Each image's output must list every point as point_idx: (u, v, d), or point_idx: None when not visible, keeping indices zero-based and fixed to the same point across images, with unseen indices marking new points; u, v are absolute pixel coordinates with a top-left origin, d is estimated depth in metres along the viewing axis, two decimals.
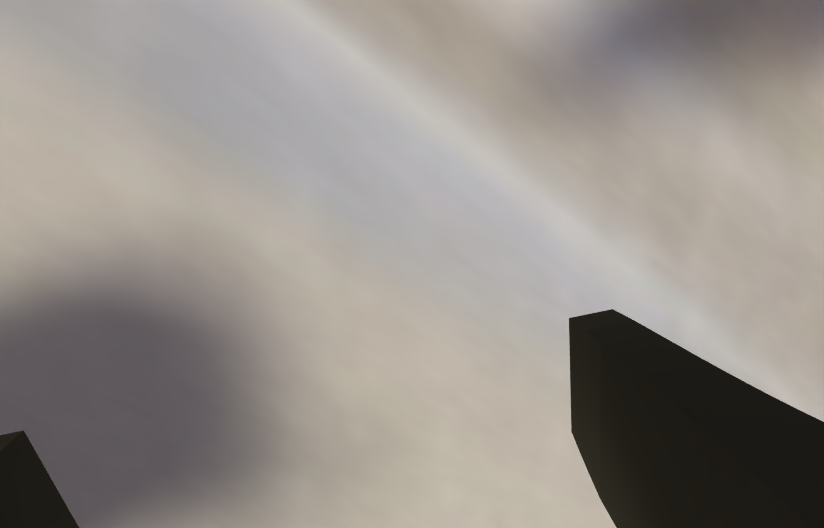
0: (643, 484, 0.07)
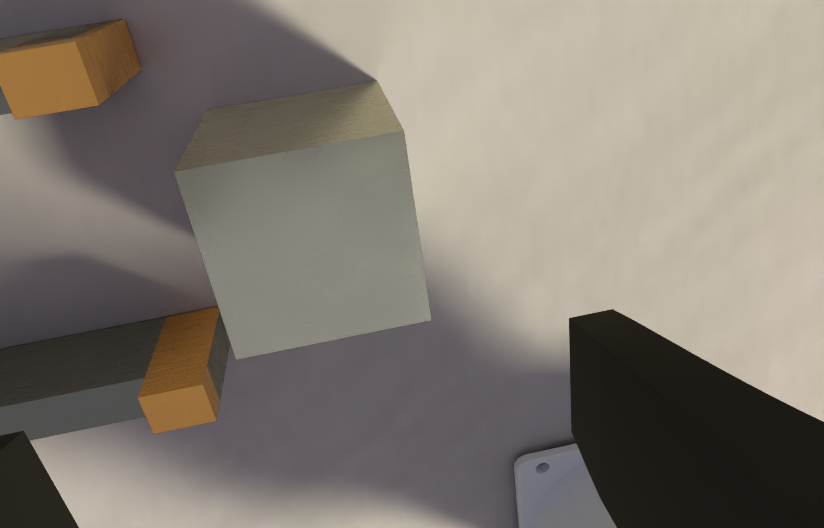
0: (643, 483, 0.07)
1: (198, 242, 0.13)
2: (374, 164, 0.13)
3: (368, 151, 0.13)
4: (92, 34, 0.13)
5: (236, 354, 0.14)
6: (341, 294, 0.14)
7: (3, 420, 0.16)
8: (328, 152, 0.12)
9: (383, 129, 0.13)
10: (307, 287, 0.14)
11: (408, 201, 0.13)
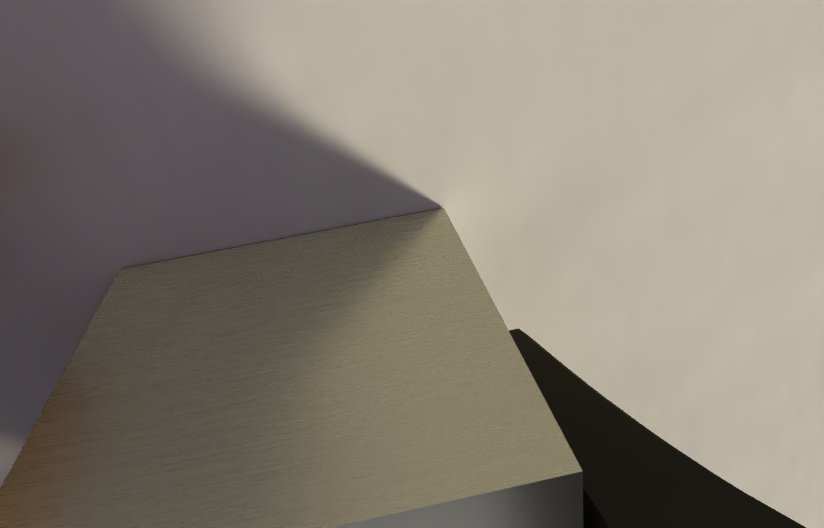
0: None
1: None
2: None
3: (483, 524, 0.05)
4: None
5: None
6: None
7: None
8: None
9: (518, 449, 0.05)
10: None
11: None
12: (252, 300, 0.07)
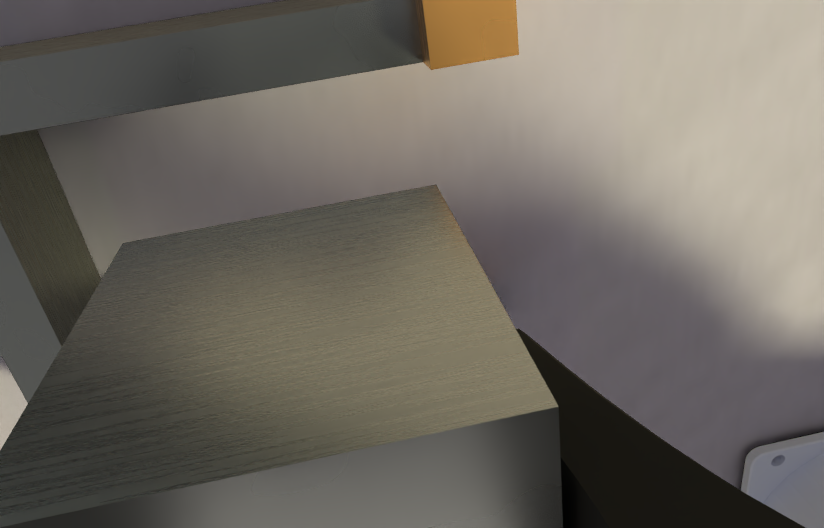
0: None
1: None
2: (477, 480, 0.05)
3: (464, 457, 0.05)
4: None
5: None
6: None
7: None
8: (362, 465, 0.05)
9: (499, 389, 0.05)
10: None
11: None
12: (251, 267, 0.08)
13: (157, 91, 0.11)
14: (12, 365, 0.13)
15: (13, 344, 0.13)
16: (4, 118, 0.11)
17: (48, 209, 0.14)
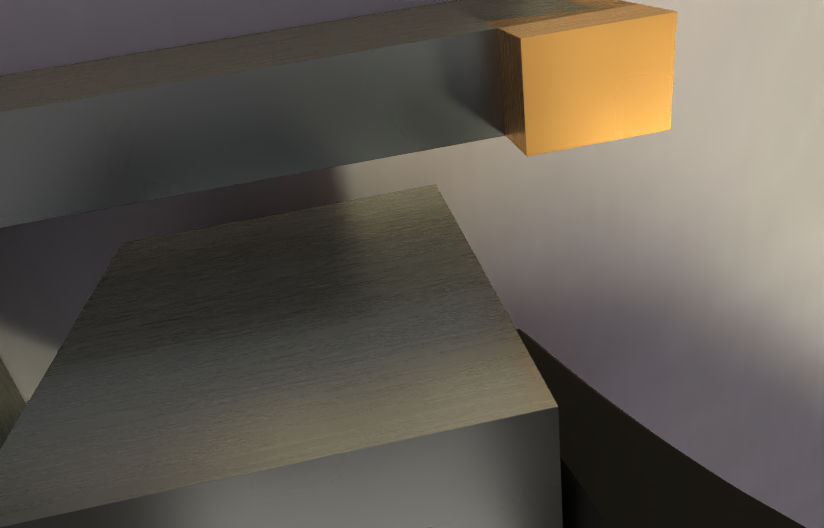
0: None
1: None
2: (476, 480, 0.05)
3: (466, 456, 0.05)
4: (625, 2, 0.07)
5: None
6: None
7: None
8: (361, 465, 0.05)
9: (499, 389, 0.05)
10: None
11: None
12: (250, 267, 0.08)
13: (74, 188, 0.07)
14: None
15: None
16: None
17: None
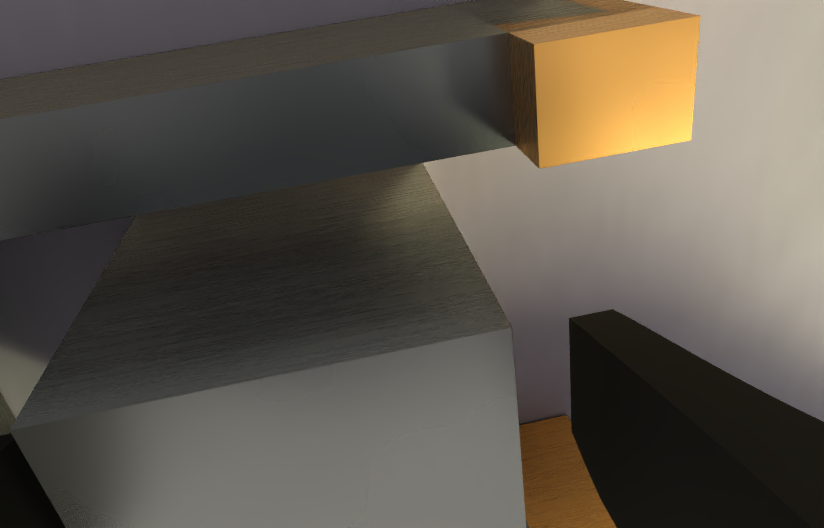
0: (644, 483, 0.07)
1: None
2: (444, 392, 0.06)
3: (435, 370, 0.06)
4: (642, 5, 0.07)
5: None
6: None
7: None
8: (349, 375, 0.06)
9: (464, 316, 0.06)
10: None
11: (508, 449, 0.07)
12: (254, 229, 0.09)
13: (60, 202, 0.07)
14: None
15: None
16: None
17: None
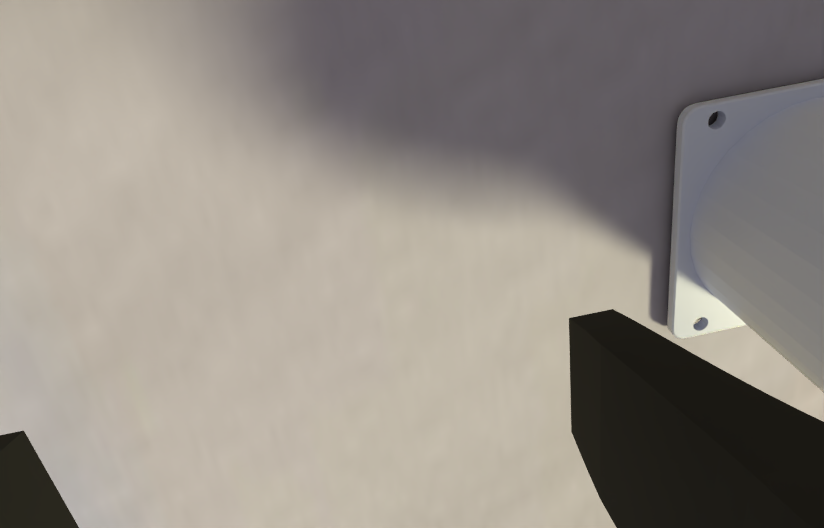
0: (643, 483, 0.07)
1: None
2: None
3: None
4: None
5: None
6: None
7: None
8: None
9: None
10: None
11: None
12: None
13: None
14: None
15: None
16: None
17: None
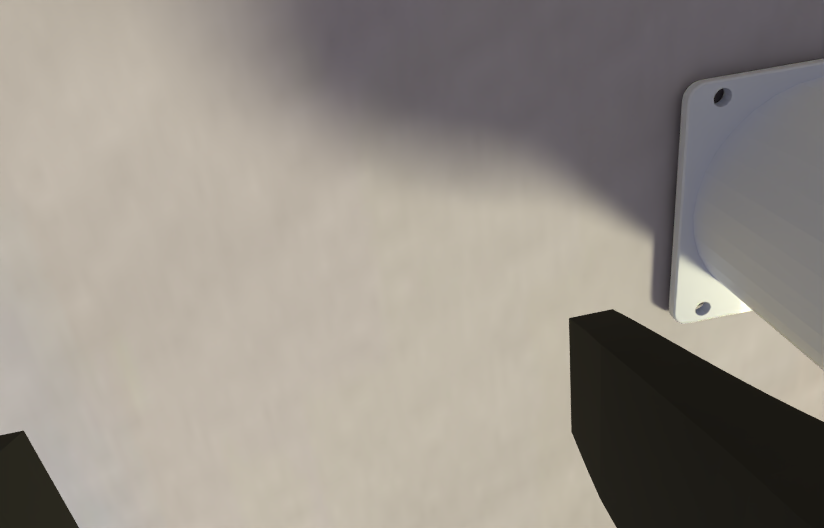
0: (643, 484, 0.07)
1: None
2: None
3: None
4: None
5: None
6: None
7: None
8: None
9: None
10: None
11: None
12: None
13: None
14: None
15: None
16: None
17: None
